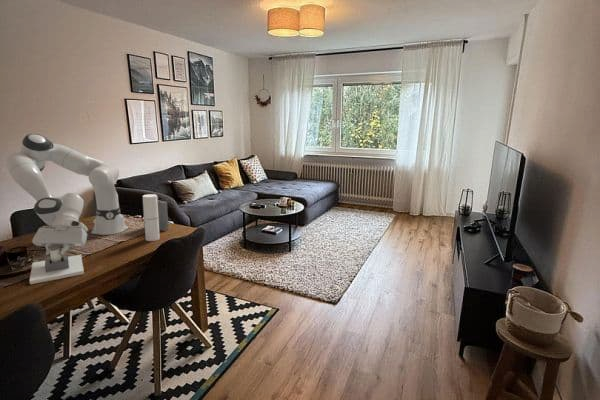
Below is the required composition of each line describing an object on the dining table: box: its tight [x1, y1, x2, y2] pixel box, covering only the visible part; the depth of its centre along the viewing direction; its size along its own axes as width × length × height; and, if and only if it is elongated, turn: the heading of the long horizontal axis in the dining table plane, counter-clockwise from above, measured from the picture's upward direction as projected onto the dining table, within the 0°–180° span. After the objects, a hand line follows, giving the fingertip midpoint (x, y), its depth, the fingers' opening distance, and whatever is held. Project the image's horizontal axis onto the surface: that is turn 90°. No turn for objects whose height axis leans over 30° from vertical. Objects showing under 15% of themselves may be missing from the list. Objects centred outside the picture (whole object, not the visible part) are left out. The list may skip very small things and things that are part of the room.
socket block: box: [29, 254, 85, 285], centre depth 141 cm, size 20×18×4 cm
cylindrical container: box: [142, 193, 160, 242], centre depth 179 cm, size 7×7×25 cm
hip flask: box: [142, 196, 169, 232], centre depth 197 cm, size 16×4×20 cm, turn 77°
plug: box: [49, 245, 62, 263], centre depth 140 cm, size 4×4×8 cm
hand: (54, 254), depth 140 cm, fingers closed on plug, 3 cm apart
